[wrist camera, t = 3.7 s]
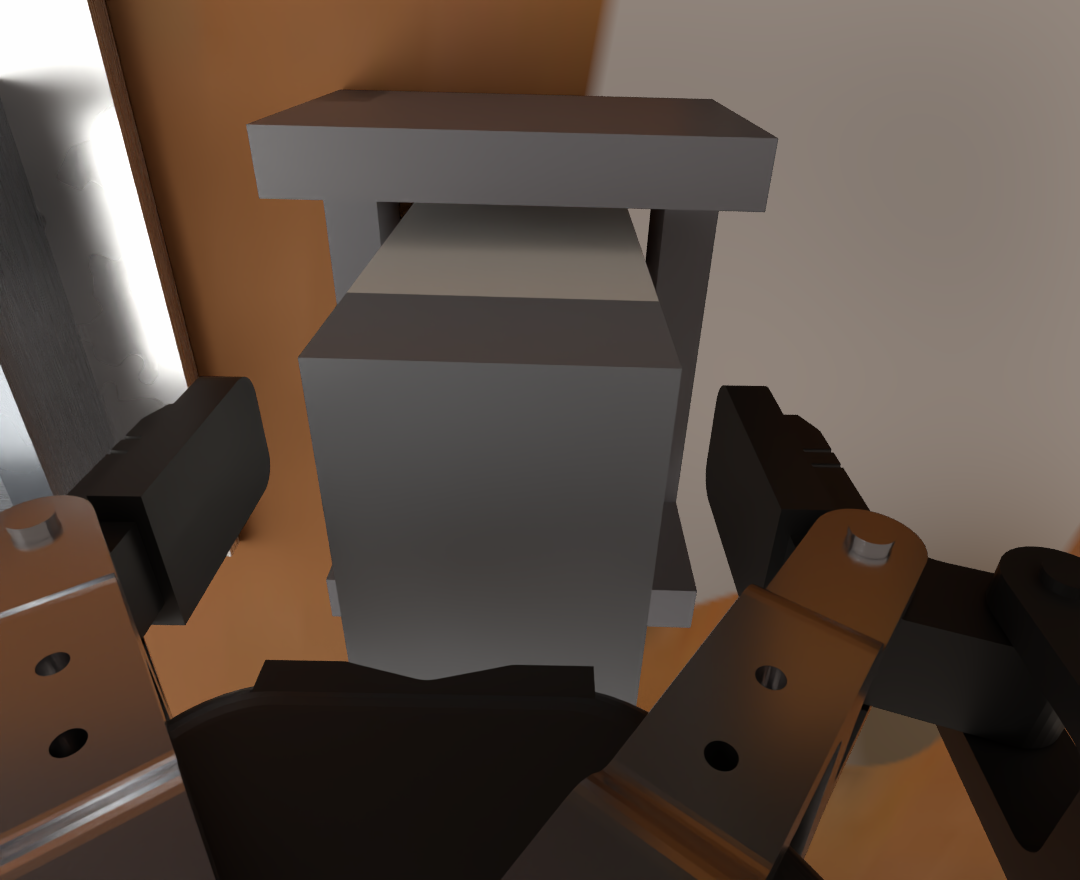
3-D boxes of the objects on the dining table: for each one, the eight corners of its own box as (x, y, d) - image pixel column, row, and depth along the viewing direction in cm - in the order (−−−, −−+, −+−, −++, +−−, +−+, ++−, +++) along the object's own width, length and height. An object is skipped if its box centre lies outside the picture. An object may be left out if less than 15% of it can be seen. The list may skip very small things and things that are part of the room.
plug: (619, 185, 15) (682, 368, 7) (601, 430, 18) (631, 738, 11) (430, 180, 15) (298, 356, 7) (444, 425, 18) (360, 730, 11)
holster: (711, 99, 14) (778, 138, 10) (661, 488, 19) (690, 627, 15) (340, 89, 14) (246, 124, 10) (383, 480, 19) (332, 616, 15)
